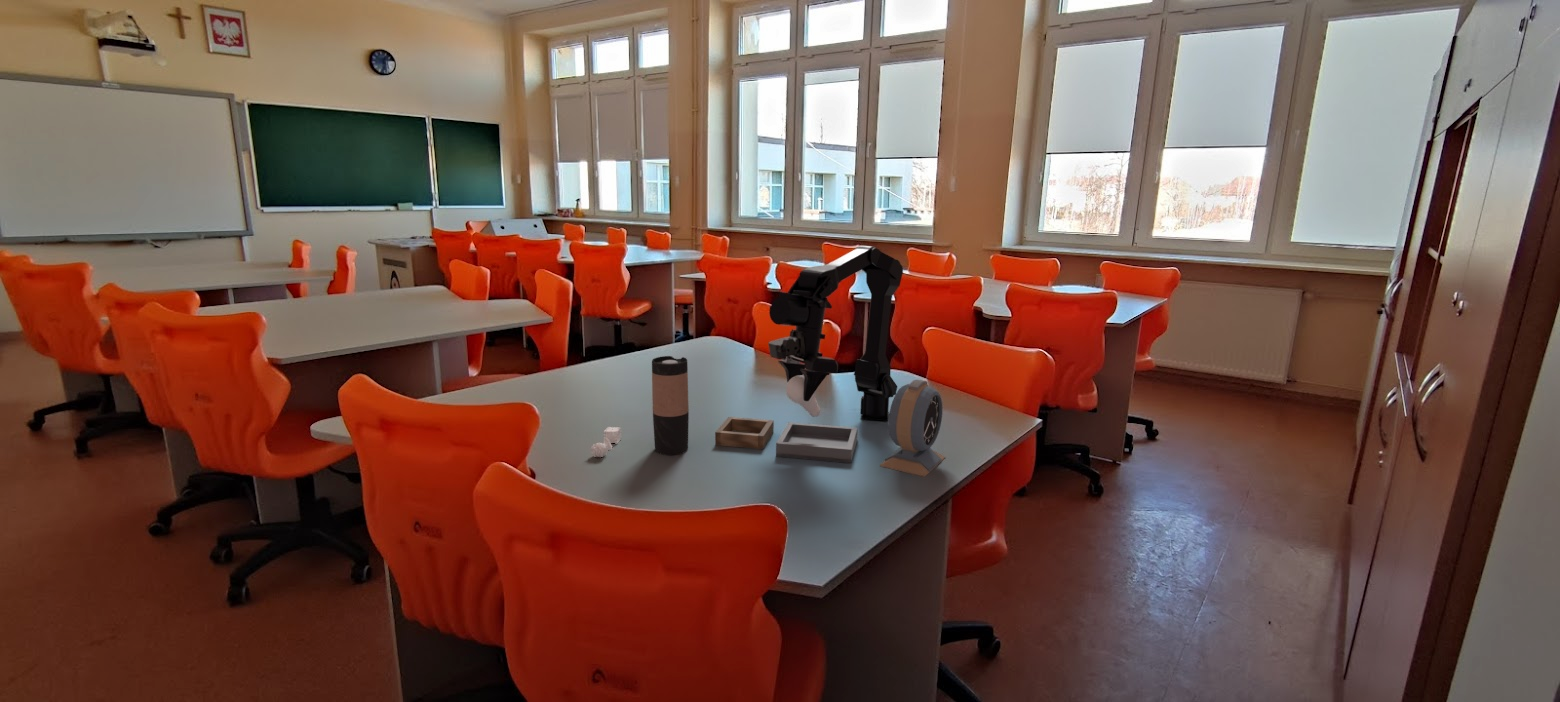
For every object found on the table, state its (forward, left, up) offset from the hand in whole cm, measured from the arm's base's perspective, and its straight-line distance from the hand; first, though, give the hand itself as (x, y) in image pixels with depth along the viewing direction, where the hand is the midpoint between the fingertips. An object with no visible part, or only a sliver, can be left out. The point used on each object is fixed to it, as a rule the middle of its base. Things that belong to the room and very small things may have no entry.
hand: (798, 397), depth 153 cm
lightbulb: (-4, -3, -5) cm, 7 cm away
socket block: (+12, -2, -11) cm, 17 cm away
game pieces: (+40, +12, -12) cm, 43 cm away
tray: (-5, 0, -11) cm, 12 cm away
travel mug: (+26, +8, -11) cm, 30 cm away
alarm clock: (-25, +3, -11) cm, 28 cm away
